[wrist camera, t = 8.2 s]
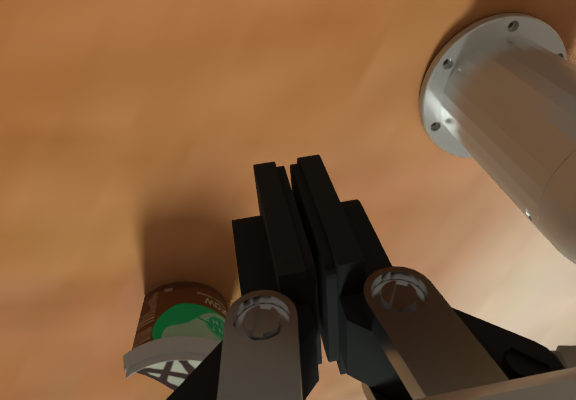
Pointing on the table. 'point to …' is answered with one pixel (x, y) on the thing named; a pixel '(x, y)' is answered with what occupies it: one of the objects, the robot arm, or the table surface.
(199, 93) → the table surface
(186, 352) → the food container
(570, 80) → the robot arm
